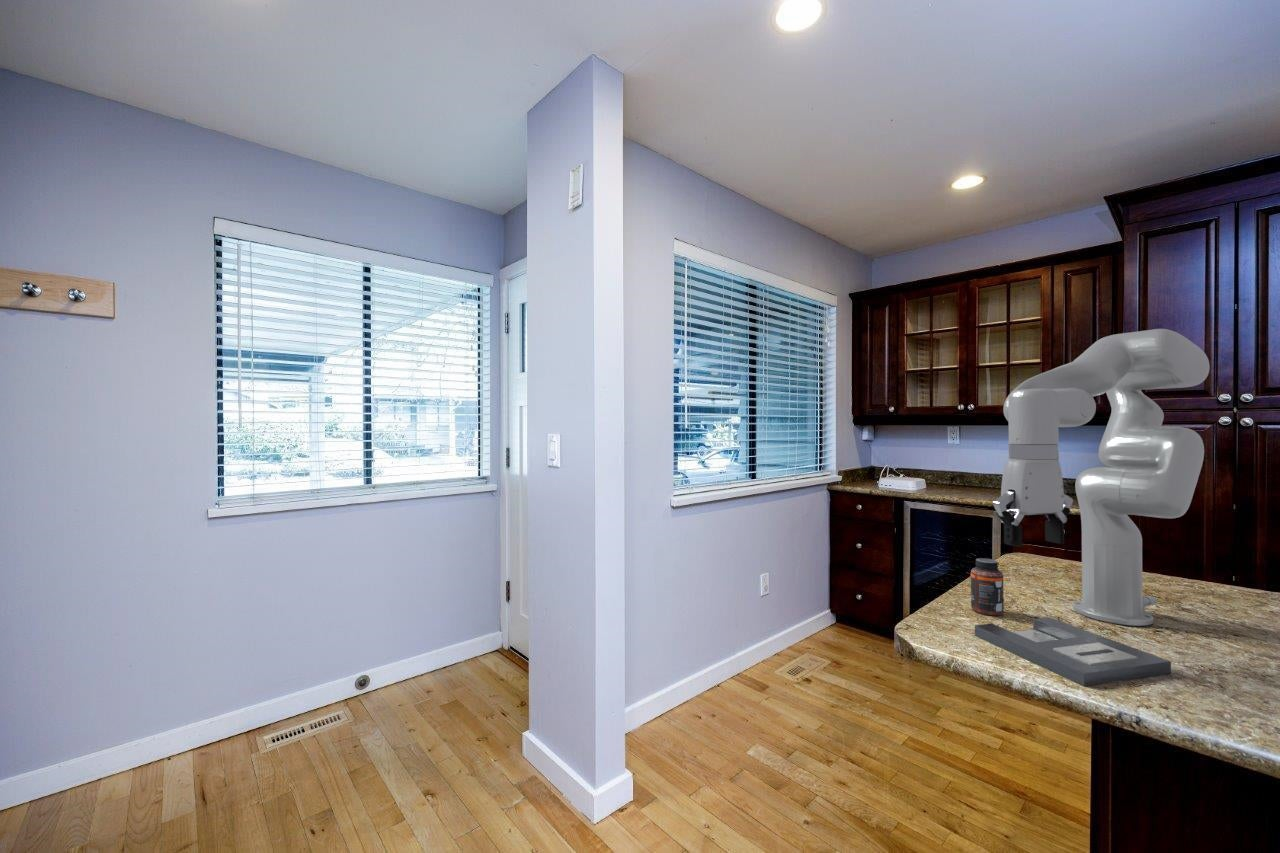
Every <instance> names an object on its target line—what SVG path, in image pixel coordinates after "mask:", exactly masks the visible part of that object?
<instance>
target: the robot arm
mask: <svg viewBox="0 0 1280 853" xmlns="http://www.w3.org/2000/svg"><path fill="white" fill-rule="evenodd" d="M1210 366H1211V365H1210V360H1209V357H1208V356H1207V354H1206V353H1205V352H1204V350H1203V349H1202V348H1201V347H1200V346H1198V345H1197V344H1195V343H1193V342H1192V340H1190V339H1188V338H1187V337H1185V336H1184V335H1182V334H1181V333H1179V332H1176V331H1174V330H1170V329H1166V328H1153V329H1147V330H1140V331H1131V332H1122V333H1116V334H1111V335H1107V336H1104V337H1102V338H1100V339H1098V340H1096V341H1095V342H1094V343H1092V344H1091V345H1090V346H1089V347H1087V349H1086V350H1084V351H1083V353H1081V354H1080V355H1079V356H1078V357H1076V358H1075V359H1074V360H1073V361H1070V362H1068V363H1066V364H1063V365H1060V366H1057V367H1055V368H1052V369H1050V370H1047V371H1044V372H1042V373H1039V374H1037V375H1034V376H1032V377H1030V378H1027V379H1026V380H1024V381H1023V382H1021V383H1020V384H1019V385H1018V386H1016V387H1015V388H1014V389H1013V390H1012V391H1011V392H1010V393H1009V394H1008V396H1007V397H1006V399H1005V401H1004V404H1003V416H1004V417H1005V419H1006V421H1007V422H1008V460H1006V461H1005V463H1004V466H1003V470H1002V478H1001V488H1000V496H999V497H998V498H996V499H995V500H993V501H992V504H993V507H994V509H995V511H996V515H997V517H998V518H999V519H1000V522H1001V523H1002V524H1003V543H1004V544H1005V545H1007V546H1011V547H1015V548H1021V547H1022V546H1023V527H1022V525H1020V522H1022V520H1023V519H1024V517H1025V516H1033V515H1034V516H1037V515H1044V516H1045V517H1046V519H1048V520H1045V522H1044V540H1045V541H1046V542H1048V543H1052V544H1058V545H1064V544H1065V523H1067V521H1068V518H1067V517H1068V516H1069V514H1070V513H1071V508H1072V505H1073V502H1074V499H1073V498H1072V497H1070V496H1069V495H1067V494H1066V493H1065V492H1064V480H1063V474H1062V468H1061V464H1060V461H1059V460H1060V459H1059V458H1060V457H1059V456H1060V455H1059V450H1060V449H1059V444H1060V443H1059V441H1060V440H1059V428H1074V427H1079V426H1083V425H1086V424H1087V423H1088V422H1090V421H1091V420H1092V419H1093V418H1094V416H1095V414H1096V409H1097V404H1096V400H1095V399H1094V397H1096V396H1100V395H1104V394H1106V396H1107V399H1108V401H1109V405H1110V407H1111V413H1110V416H1109V418H1108V419H1109V420H1108V421H1107V425H1106V428H1105V431H1104V433H1103V435H1102V438H1101V440H1100V444H1099V446H1098V459H1099V460H1100V462H1101V463H1102V464H1103V465H1105V466H1100V467H1099V466H1097V467H1091V468H1088V469H1085V470H1083V471H1082V472H1080V473H1079V474H1078V475H1077V476H1076V479H1075V484H1074V485H1075V487H1074V488H1075V494H1076V498H1077V501H1078V507H1079V512H1080V513H1079V514H1080V520H1081V521H1080V522H1081V523H1080V524H1081V582H1082V583H1081V587H1082V588H1081V589H1082V590H1081V593H1082V594H1081V598H1082V599H1081V600H1076V601H1074V602H1073V604H1072V609H1073V610H1074V611H1075V612H1076V613H1079V614H1080V615H1083V616H1084V617H1088V618H1090V619H1094V620H1097V621H1102V622H1105V623H1111V624H1116V625H1117V624H1118V625H1124V626H1134V627H1135V626H1136V627H1142V626H1146V627H1147V626H1151V625H1152V624H1154V616H1153V615H1152V614H1151V613H1149V612H1148V611H1145V610H1146V609H1145V608H1146V607H1149V606H1155V605H1156V604H1157V603H1158V600H1157V598H1156V597H1154V596H1152V595H1144V594H1143V593H1144V592H1143V537H1142V533H1141V531H1140V529H1139V528H1138V526H1137V525H1136V524H1135V523H1134V521H1133V520H1132V519H1131V517H1130V516H1129V515H1131V516H1133V515H1134V516H1142V517H1151V518H1159V519H1176V518H1181V517H1182V516H1184V515H1185V514H1186V513H1187V511H1188V510H1189V508H1190V506H1191V503H1192V500H1193V496H1194V493H1195V489H1196V487H1197V483H1198V480H1199V476H1200V474H1201V470H1202V467H1203V462H1204V458H1205V445H1204V441H1203V438H1202V437H1201V436H1200V434H1199V433H1197V432H1196V431H1195V430H1194V429H1190V428H1188V427H1182V426H1162V425H1163V422H1164V417H1165V415H1164V414H1165V413H1164V412H1163V409H1162V408H1161V407H1160V405H1159V404H1158V403H1156V401H1154V400H1153V399H1151V398H1150V397H1148V396H1147V395H1145V394H1144V393H1143V391H1142V390H1158V389H1162V390H1163V389H1179V388H1180V389H1182V388H1190V387H1191V388H1192V387H1195V386H1199V385H1200V384H1202V383H1203V382H1204V381H1205V380H1206V379H1207V378H1208V376H1209V373H1210ZM1013 515H1014V516H1013Z"/></svg>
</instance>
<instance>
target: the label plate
mask: <svg viewBox="0 0 1280 853" xmlns="http://www.w3.org/2000/svg"><path fill="white" fill-rule="evenodd" d="M1032 624H1033V625H1032V626H1033V629H1028V630H1019V631H1010V630H1008V629H1006V628H1003V627H1001V626H998V625H996V624H994V623H985V624H984V623H983V624H975V625H974V636H975V637H977V638H980V639H981V640H983V641H985V642H988V643H990V644H992V645H994V646H996V647H998V648H1001V649H1003V650H1005V651H1008V652H1009V653H1012V654H1014V655H1016V656H1018V657H1020V658H1023V659H1024V660H1027V661H1029V662H1031V663H1033V664H1035V665H1038V666H1039V667H1042V668H1044V669H1045V670H1048V671H1049V672H1053V673H1054V674H1057V675H1059V676H1061V677H1062V678H1066V679H1067V680H1069V681H1071V682H1074V683H1077V684H1078V685H1080V686H1082V687H1088V686H1096V685H1101V684H1109V683H1115V682H1116V683H1117V682H1122V681H1123V682H1124V681H1130V680H1135V679H1136V680H1137V679H1142V678H1150V677H1157V676H1164V675H1171V674H1172V661H1171V660H1168V659H1166V658H1163V657H1160V656H1157V655H1154V654H1151V653H1148V652H1147V651H1143V650H1141V649H1138V648H1136V647H1135V648H1134V647H1132V646H1130V645H1127V644H1123V643H1121V642H1119V641H1116V640H1113V639H1111V638H1107V637H1105V636H1103V635H1099V634H1096V633H1093V632H1092V631H1088V630H1085V629H1082V628H1080V627H1078V626H1075V625H1072V624H1068V623H1066V622H1064V621H1061V620H1058V619H1055V618H1053V617H1039V618H1033V620H1032Z"/></svg>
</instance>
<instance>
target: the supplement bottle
mask: <svg viewBox="0 0 1280 853" xmlns="http://www.w3.org/2000/svg"><path fill="white" fill-rule="evenodd" d="M1004 593H1005V592H1004V574H1003V573H1002V571H1000V570H999V565H998V561H997V560H995V559H991V558H985V557H984V558H982V557H980V558H979V557H978V558H976V559H975V567H973V568H972V569H971V570H970V605H971V610H972V611H974V612H976V613H978V614H980V615H986V616H993V617H994V616H995V617H997V616H1001V615H1003V614H1004V611H1005V610H1004V609H1005V608H1004V602H1005V601H1004V599H1005V598H1004V596H1005V595H1004Z"/></svg>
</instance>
